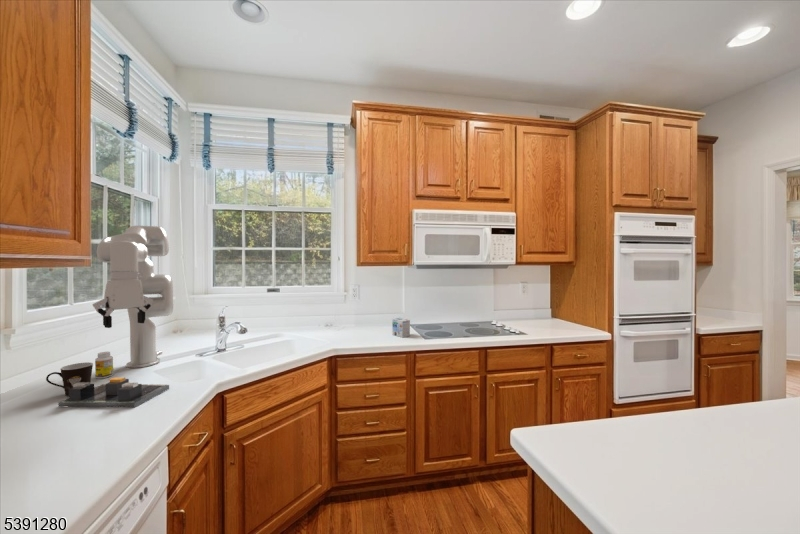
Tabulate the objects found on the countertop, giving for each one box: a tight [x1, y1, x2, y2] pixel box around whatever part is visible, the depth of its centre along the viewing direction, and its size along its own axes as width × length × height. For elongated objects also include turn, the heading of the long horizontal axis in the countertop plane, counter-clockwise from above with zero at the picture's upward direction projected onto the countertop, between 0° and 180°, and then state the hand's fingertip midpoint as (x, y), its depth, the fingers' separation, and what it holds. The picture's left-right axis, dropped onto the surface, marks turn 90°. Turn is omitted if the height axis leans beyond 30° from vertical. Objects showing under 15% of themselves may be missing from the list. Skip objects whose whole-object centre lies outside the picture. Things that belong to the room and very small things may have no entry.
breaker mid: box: [105, 377, 130, 395], centre depth 118 cm, size 5×4×5 cm
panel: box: [57, 382, 170, 408], centre depth 118 cm, size 16×26×7 cm, turn 89°
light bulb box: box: [391, 317, 411, 339], centre depth 215 cm, size 11×7×11 cm, turn 41°
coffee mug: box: [45, 361, 94, 397], centre depth 121 cm, size 12×9×10 cm
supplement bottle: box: [94, 351, 114, 380], centre depth 138 cm, size 6×6×10 cm
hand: (125, 325), depth 115 cm, fingers open, 9 cm apart
